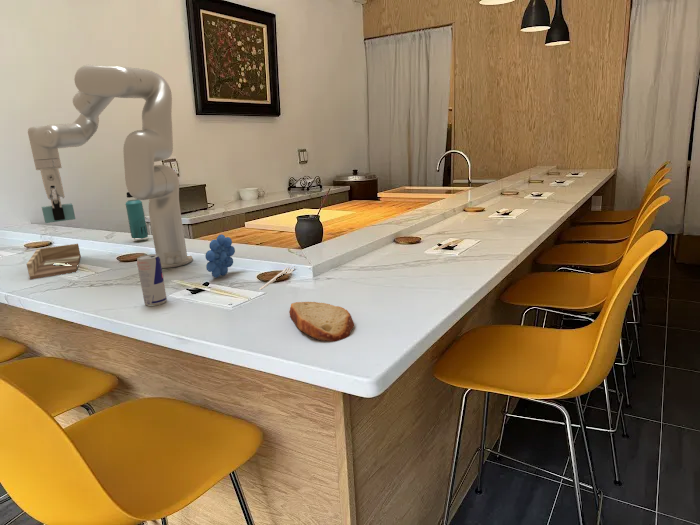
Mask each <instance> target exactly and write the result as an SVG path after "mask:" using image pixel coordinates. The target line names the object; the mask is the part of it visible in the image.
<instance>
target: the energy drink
mask: <svg viewBox="0 0 700 525" xmlns="http://www.w3.org/2000/svg"><path fill="white" fill-rule="evenodd" d="M136 263H137V268H138V269H137V271H138V276H139V280H140V287H141V292H142V297H143V304H145V305H146V306H147V305H156V306H159V304H160V305H163V304H165V303H166V302H167V300H168V298H167V291H166V285H165V280H164V275H163V268H161V262H160V258H159V256H158V255H157V254H156V253H151V254H144V255H141V256H139V257H137V261H136Z"/></svg>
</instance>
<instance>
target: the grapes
mask: <svg viewBox="0 0 700 525" xmlns="http://www.w3.org/2000/svg"><path fill="white" fill-rule="evenodd" d="M232 240H233V239H232V238H231V237H229V236H225V235H224V234H218V235H217V237H216V239H212V240H211V241H210V242H209V249H210V250H207V251H206V253H205V259H206V261H207V263H206V271H207V272H209V273H211V276H212V277H213V278H216V279H217V278H219V277H220V276H222V277H223V276H226V275H227V274H228V272H229V268H231V267H232V266H233V264H234V259H233V255H234V254H235V253H236V249H235V247H234V245H232V244H233V241H232Z"/></svg>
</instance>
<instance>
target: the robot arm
mask: <svg viewBox="0 0 700 525" xmlns="http://www.w3.org/2000/svg"><path fill="white" fill-rule="evenodd" d="M73 80H74V85H75V87H76V89H77V90H78V91H77V92H76V94H75V95H73V98H72V104H73V107H74V108H75V109H76V110H77V111H78V112H79V113H80V115H79V116H78V117H77V118H76V119H75V121H73V122H72V123H57V124H55V123H54V124H47V125H38V126H37V125H36V126H30V127H29V128H28V129H27V134H28V139H29V145H30V150H31V152H32V157H33V161H34V167H35V170H36V171H40V175H41V178H42V183H43V187H44V191H45V194H46V196H47V199H48V200H50V202H51V206H52V208H53V209H52V212H53V216H54V220H55V221H56V220H64V219H65V216H64V211H63V207H62V206H61V205H62V202H61V198H62V199H65V193H64V192H65V191H64V187H63V182H62V178H61V174H60V170H59V169H63V168H62V167H63V166H62V162H61V158H60V152H59V149H67V148H77V147H82V146H83V145H85V144H86V143H87V142H88V141H89V140H90V139H92V137H93V136H95V134H96V132H97V130H98V129H99V123H100V115H101V114H102V112H104V110H105V109H106V108H107V107H108V106H109V105H110V103H111V102H112V101H113V100H114V98H120V99H141V100H142V99H143V100H144V101H145V102H144V104H143V108H142V111H141V122H142V123H141V124H142V128H141V129H139V130H133V131H131V132H130V133H129V134H128V135H127V136H126V137H125V140H124V144H123V151H122V152H123V166H124V180H125V186H126V190H127V192H129V193H130V194H131V196H133V197H132V198H134V200H136V199H138V200H140V201H147V200H149V201H148V216H149V223H150V229H151V234H152V240H153V245H154V250H155V254H157V255H158V256H159V258H160V262H161V268H162V269H168V268H176V267H181V266H184V265H188V264H190V263H192V262H193V261H194V260H193V256H192V255H190V256H187V255H188V253H187V245H186V240H185V239H186V238H185V233H184V227H183V226H184V225H183V220H182V213H181V212H182V211H181V205H180V180H179V176H178V174H177V172H176V171H175V169H173V168H172V167H170V166H168V165H165V164H156V165H155V162H161V161H165V160H168V159H170V158H171V156H172V154H173V152H174V151H173V150H174V143H173V122H172V121H173V117H172V115H173V114H172V108H173V98H172V97H173V96H172V90H171V88H170V85H169V83H168V82H167V80H166V79H165V78H164V77H163V76H162V75H160V74H159V73H157V72H155V71H153V70H149V69H145V68H139V67H138V68H137V67H127V66H116V65H115V66H114V65H97V64H96V65H94V64H86V65H82V66H80V67H79V68H78V69H77V70H76V72H75V75H74V79H73Z"/></svg>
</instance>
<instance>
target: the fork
mask: <svg viewBox="0 0 700 525" xmlns="http://www.w3.org/2000/svg"><path fill="white" fill-rule="evenodd" d="M286 272H287V273H286ZM293 272H294V270H293V269H292V268H291V269H290V267H289V268H288V267H287V268H286V266H285V268H283V270H282V271H281V272H279V273H278V274H277V275H275V276H274V277H273V278H272V279H270V280H268V281H267V282H266V283H265V284H264V285H263V286H261V287H260V288H258V290H263V289H265V288H266V287H268V286H269V285H271V284H272V283H274V282H276V281H277V280H276V278H277V277H279V276H281V275H282V276H283V274H284V275H289V274H291V273H293ZM282 276H281V277H282Z"/></svg>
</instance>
